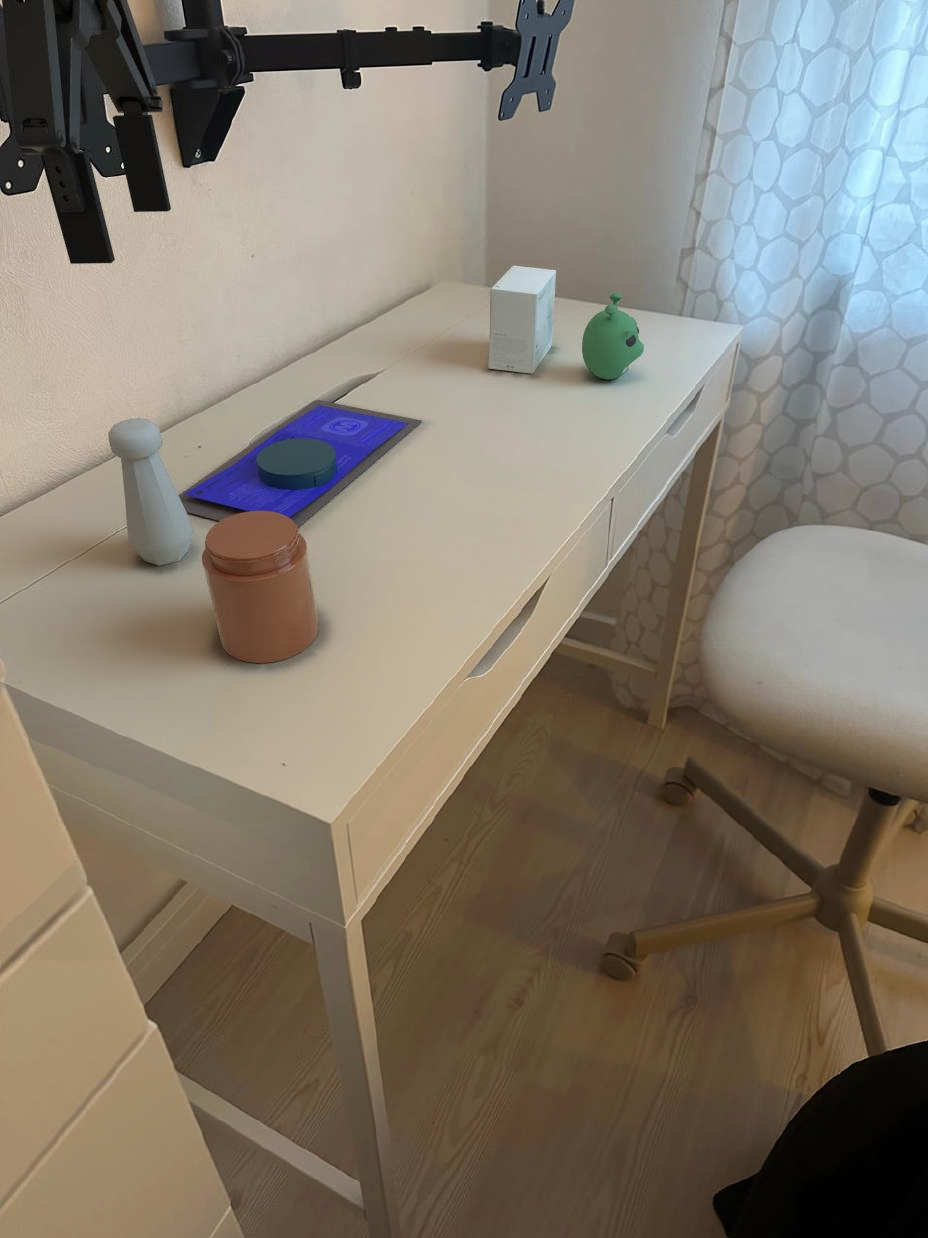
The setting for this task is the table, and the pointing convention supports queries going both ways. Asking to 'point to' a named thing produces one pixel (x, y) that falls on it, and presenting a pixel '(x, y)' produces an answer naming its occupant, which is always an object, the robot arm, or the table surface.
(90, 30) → the robot arm
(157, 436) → the salt shaker
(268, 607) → the jar
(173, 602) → the table surface
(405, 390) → the table surface
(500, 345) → the cosmetics box
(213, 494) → the booklet
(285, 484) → the jar lid
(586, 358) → the alien toy
